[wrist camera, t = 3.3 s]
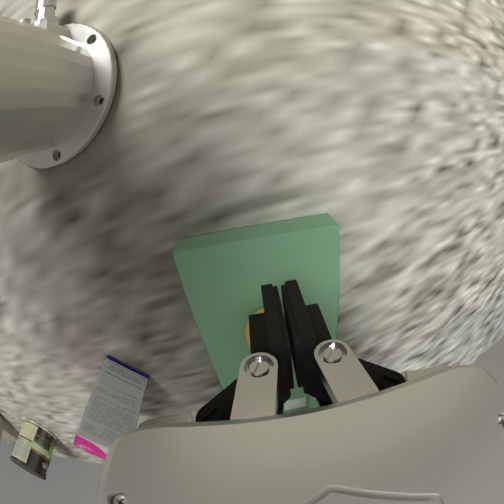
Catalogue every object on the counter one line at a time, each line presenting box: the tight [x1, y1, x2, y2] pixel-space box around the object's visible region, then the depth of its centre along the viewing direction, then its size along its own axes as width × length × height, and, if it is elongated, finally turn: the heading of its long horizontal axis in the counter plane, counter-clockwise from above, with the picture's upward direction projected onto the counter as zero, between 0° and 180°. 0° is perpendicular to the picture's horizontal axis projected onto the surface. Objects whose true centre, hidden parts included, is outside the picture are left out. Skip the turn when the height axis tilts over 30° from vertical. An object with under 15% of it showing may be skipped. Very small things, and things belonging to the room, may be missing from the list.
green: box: [172, 213, 339, 414], centre depth 27 cm, size 30×12×2 cm, turn 9°
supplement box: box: [74, 356, 149, 460], centre depth 23 cm, size 6×6×12 cm
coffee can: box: [10, 419, 57, 480], centre depth 34 cm, size 10×10×14 cm
